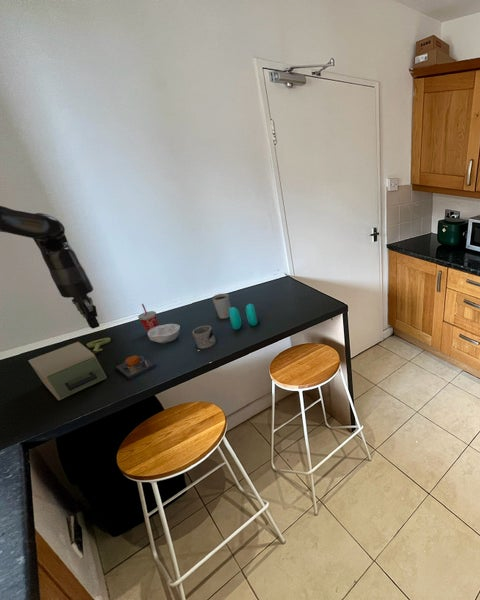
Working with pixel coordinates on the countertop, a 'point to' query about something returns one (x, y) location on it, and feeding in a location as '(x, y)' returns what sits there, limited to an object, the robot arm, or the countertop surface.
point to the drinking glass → (222, 305)
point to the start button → (132, 360)
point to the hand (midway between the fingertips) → (95, 327)
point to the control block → (135, 367)
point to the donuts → (237, 320)
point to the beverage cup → (148, 319)
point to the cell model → (164, 333)
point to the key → (98, 344)
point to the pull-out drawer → (76, 377)
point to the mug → (204, 336)
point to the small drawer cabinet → (61, 362)
